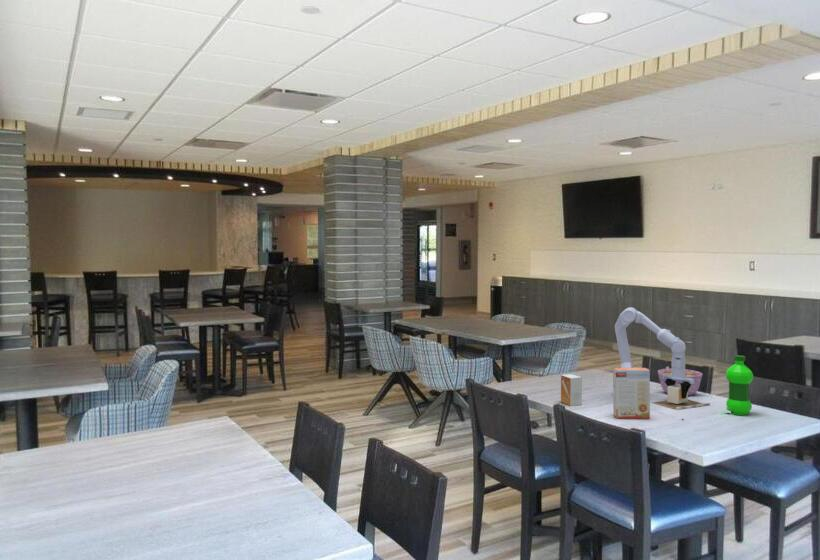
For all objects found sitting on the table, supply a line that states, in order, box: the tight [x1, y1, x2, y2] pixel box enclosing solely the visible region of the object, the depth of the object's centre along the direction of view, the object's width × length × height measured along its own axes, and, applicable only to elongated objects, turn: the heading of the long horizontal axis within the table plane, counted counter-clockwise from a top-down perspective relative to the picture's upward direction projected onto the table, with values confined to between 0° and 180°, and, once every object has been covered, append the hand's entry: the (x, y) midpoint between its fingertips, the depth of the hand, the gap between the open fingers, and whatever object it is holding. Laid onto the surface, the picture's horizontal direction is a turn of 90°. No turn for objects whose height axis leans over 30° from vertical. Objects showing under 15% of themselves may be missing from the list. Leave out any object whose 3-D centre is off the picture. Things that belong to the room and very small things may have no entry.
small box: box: [560, 373, 583, 407], centre depth 287 cm, size 8×6×13 cm
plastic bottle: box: [725, 354, 754, 416], centre depth 267 cm, size 10×10×25 cm
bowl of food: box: [657, 368, 703, 397], centre depth 301 cm, size 20×20×12 cm
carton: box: [666, 384, 689, 404], centre depth 280 cm, size 8×5×7 cm, turn 125°
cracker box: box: [612, 367, 651, 420], centre depth 263 cm, size 14×6×21 cm, turn 84°
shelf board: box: [652, 399, 711, 411], centre depth 279 cm, size 20×15×2 cm
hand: (677, 397), depth 280 cm, fingers closed on carton, 5 cm apart
